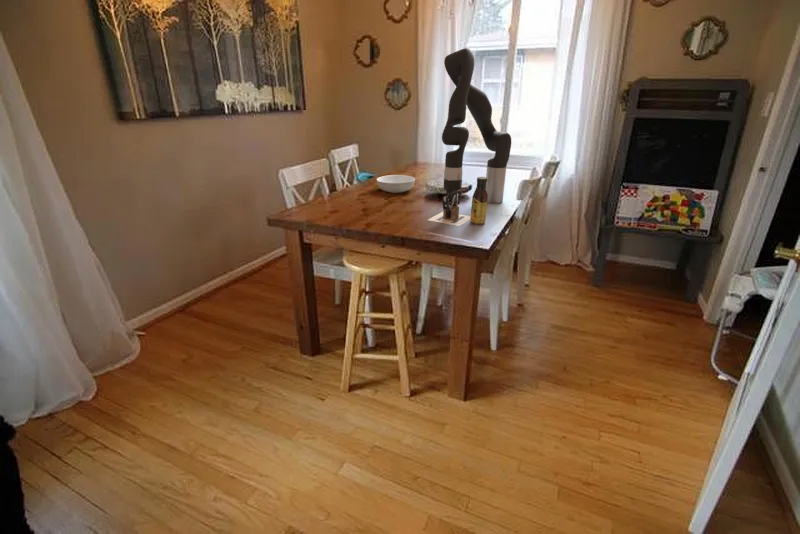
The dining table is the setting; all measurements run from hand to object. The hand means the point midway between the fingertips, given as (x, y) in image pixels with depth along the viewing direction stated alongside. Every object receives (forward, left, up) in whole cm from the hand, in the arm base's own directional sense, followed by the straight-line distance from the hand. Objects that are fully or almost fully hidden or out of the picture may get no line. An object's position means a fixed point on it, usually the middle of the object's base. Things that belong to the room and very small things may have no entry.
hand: (450, 216), depth 173 cm
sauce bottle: (0, +13, -2) cm, 13 cm away
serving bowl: (-30, -48, -2) cm, 57 cm away
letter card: (0, 0, -1) cm, 1 cm away
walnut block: (0, 0, -1) cm, 1 cm away
